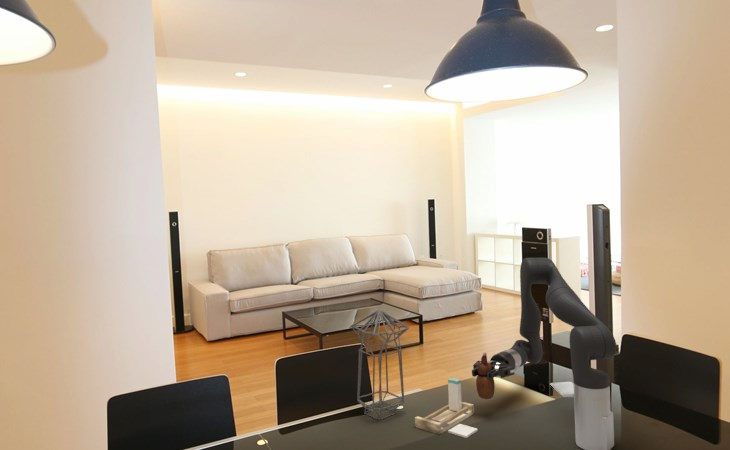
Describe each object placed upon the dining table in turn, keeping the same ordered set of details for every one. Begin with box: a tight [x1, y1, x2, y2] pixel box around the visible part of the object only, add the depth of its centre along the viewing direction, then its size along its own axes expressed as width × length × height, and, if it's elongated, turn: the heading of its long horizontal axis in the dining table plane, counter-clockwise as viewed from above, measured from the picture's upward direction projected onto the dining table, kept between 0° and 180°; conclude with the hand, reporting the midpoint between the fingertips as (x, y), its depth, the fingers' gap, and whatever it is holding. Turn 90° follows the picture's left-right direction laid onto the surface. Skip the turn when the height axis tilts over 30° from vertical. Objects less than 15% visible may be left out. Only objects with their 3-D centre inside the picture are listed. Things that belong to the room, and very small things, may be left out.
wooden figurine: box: [475, 352, 496, 400], centre depth 167 cm, size 7×6×15 cm
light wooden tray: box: [414, 399, 475, 435], centre depth 165 cm, size 9×20×3 cm, turn 137°
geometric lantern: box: [348, 309, 410, 421], centre depth 172 cm, size 16×16×35 cm
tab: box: [447, 377, 463, 412], centre depth 170 cm, size 4×2×10 cm, turn 47°
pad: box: [447, 423, 478, 439], centre depth 156 cm, size 6×6×1 cm
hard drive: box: [549, 381, 574, 398], centre depth 187 cm, size 2×8×12 cm
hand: (480, 374), depth 165 cm, fingers closed on wooden figurine, 4 cm apart
